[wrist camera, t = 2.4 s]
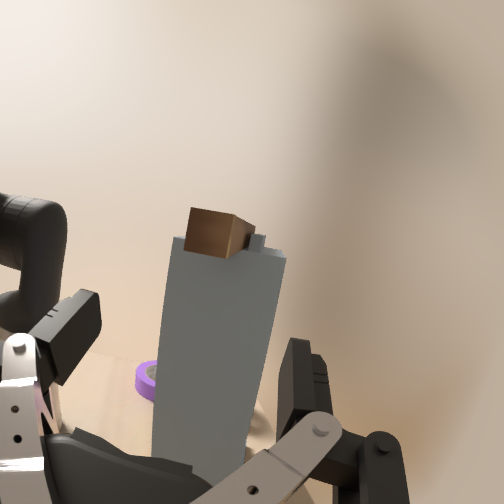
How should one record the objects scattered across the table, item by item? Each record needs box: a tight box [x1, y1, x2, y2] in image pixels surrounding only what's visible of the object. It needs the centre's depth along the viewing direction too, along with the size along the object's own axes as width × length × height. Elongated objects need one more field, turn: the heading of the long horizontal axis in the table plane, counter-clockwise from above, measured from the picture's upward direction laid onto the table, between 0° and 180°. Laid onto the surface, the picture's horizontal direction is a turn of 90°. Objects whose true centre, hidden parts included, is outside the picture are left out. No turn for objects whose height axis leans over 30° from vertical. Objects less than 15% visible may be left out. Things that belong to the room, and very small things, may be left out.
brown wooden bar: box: [183, 207, 255, 259], centre depth 29 cm, size 2×24×2 cm, turn 177°
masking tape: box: [135, 361, 157, 401], centre depth 57 cm, size 12×12×4 cm
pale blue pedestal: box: [151, 234, 286, 487], centre depth 35 cm, size 12×16×34 cm
